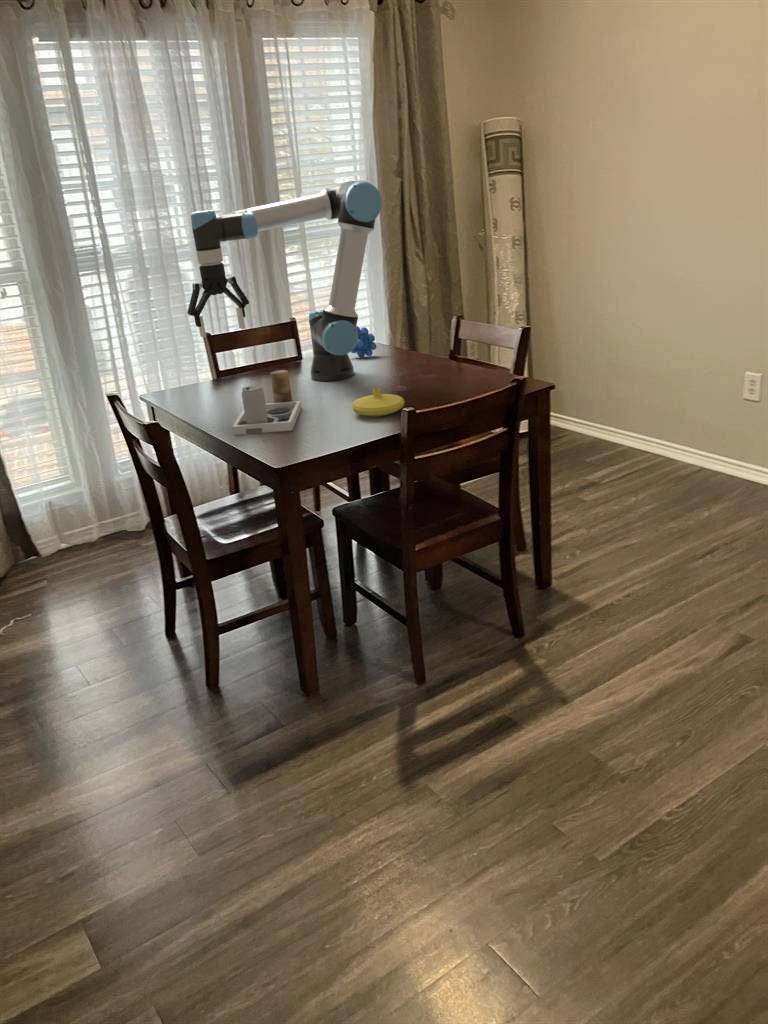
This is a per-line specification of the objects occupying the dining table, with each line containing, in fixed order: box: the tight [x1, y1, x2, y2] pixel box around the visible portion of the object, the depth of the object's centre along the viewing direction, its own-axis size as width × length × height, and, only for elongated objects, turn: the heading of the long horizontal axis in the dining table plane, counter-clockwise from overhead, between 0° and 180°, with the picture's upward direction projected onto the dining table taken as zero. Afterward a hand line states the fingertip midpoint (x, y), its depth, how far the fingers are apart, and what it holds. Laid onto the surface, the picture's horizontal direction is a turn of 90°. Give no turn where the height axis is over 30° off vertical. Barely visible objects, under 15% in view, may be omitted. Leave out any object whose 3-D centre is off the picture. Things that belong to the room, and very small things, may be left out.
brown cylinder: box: [269, 369, 293, 403], centre depth 269 cm, size 6×6×11 cm
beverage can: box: [241, 384, 269, 425], centre depth 251 cm, size 6×6×12 cm
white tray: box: [232, 400, 302, 436], centre depth 257 cm, size 17×22×2 cm
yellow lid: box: [351, 388, 405, 418], centre depth 255 cm, size 16×16×7 cm
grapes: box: [350, 325, 377, 358], centre depth 322 cm, size 12×7×12 cm, turn 85°
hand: (223, 332), depth 274 cm, fingers open, 13 cm apart
